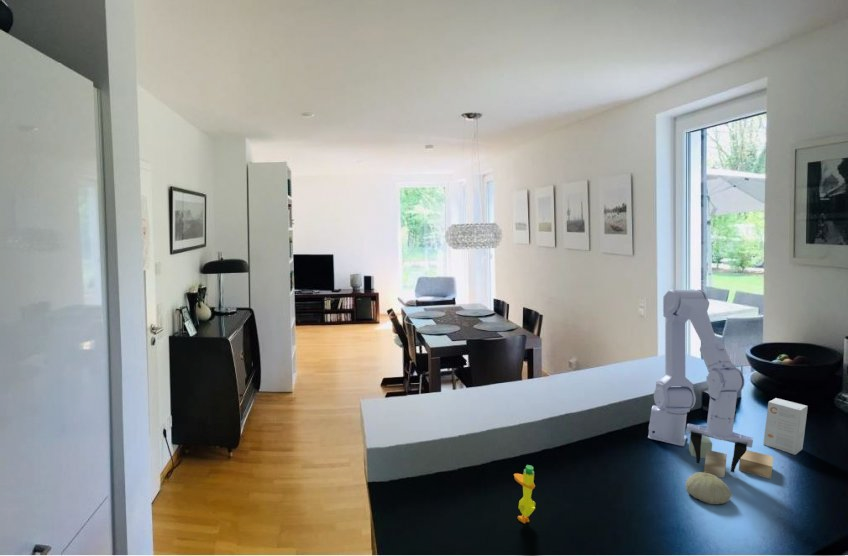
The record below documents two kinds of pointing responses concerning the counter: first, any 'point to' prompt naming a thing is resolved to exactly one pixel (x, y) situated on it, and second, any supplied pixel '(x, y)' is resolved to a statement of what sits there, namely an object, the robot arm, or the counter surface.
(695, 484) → the sea urchin shell
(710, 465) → the birch cube
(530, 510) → the toy figure
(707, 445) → the sage cube
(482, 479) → the counter surface
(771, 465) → the oak slab
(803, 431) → the small box
